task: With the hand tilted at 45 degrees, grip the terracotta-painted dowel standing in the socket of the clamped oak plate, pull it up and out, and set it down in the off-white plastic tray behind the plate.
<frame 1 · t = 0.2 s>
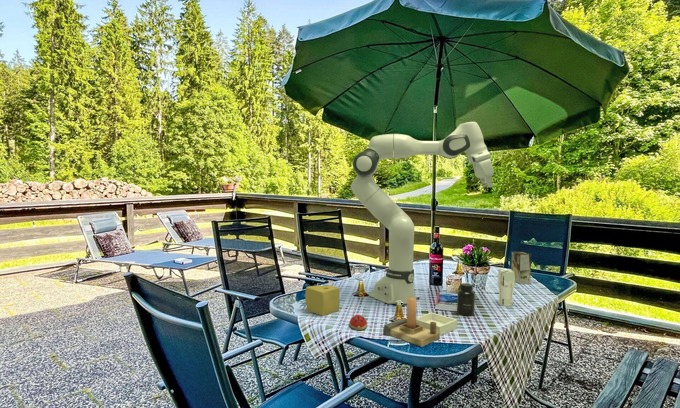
hand: (488, 186, 170), 52 cm above the table, tool tilted 20°, fingers open, 8 cm apart
red domed piece: (358, 327, 144), on the table
coffee box: (520, 282, 213), on the table
tray: (435, 327, 143), on the table
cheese: (322, 311, 161), on the table
dowel: (411, 330, 135), point 2 cm above the table, touching bench plate
bench plate: (411, 335, 135), on the table
beige tall block: (505, 304, 172), on the table
supplement bottle: (465, 314, 159), on the table
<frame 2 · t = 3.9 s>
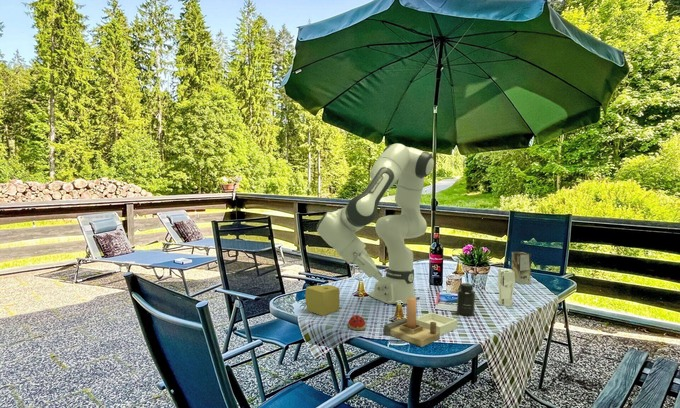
hand: (382, 279, 134), 20 cm above the table, tool tilted 45°, fingers open, 8 cm apart
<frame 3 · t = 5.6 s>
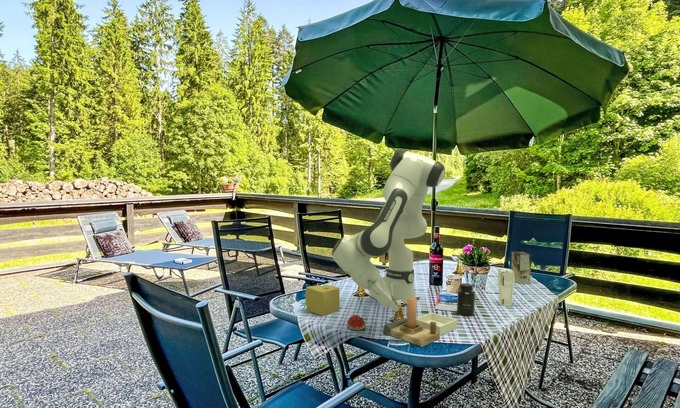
hand: (396, 305, 135), 10 cm above the table, tool tilted 45°, fingers open, 8 cm apart
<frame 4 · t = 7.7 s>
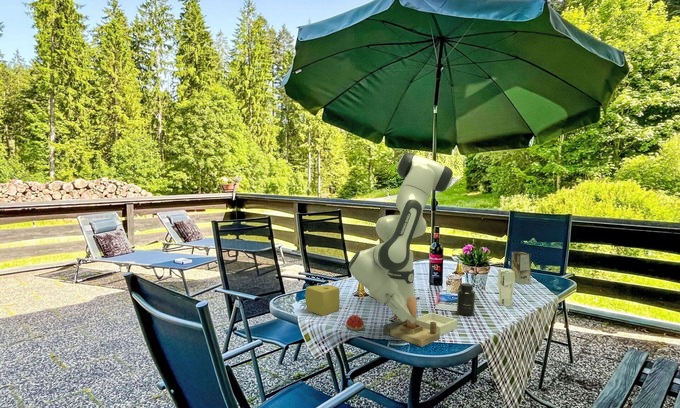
hand: (413, 319, 135), 6 cm above the table, tool tilted 45°, fingers closed on dowel, 3 cm apart
dowel: (411, 330, 135), point 2 cm above the table, touching bench plate, gripper
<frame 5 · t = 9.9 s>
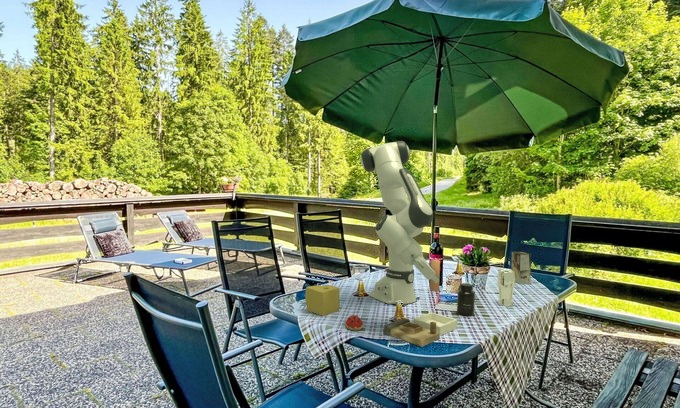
hand: (436, 279, 142), 18 cm above the table, tool tilted 45°, fingers closed on dowel, 3 cm apart
dowel: (434, 290, 142), point 14 cm above the table, touching gripper
when the fingers open (8 cm above the table, at t = 12.2 s): dowel drops 3 cm, resting on tray.
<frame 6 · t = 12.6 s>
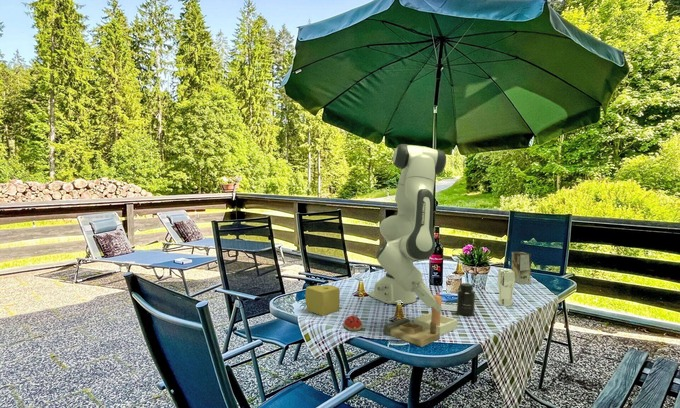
hand: (437, 306, 143), 8 cm above the table, tool tilted 45°, fingers open, 7 cm apart
dowel: (435, 325, 143), point 1 cm above the table, touching tray
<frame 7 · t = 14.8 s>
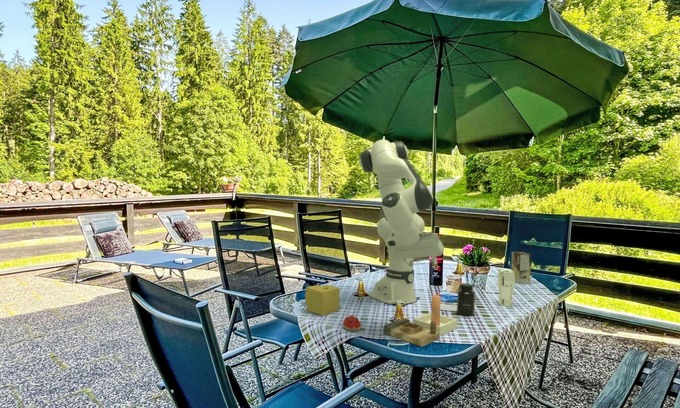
hand: (423, 264, 143), 23 cm above the table, tool tilted 35°, fingers open, 8 cm apart
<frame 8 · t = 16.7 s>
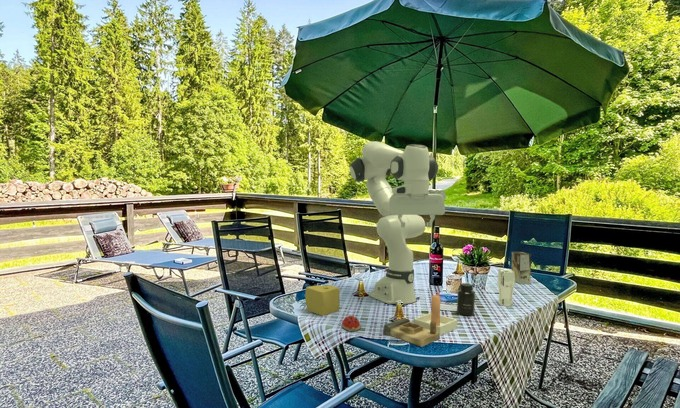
hand: (415, 227, 141), 37 cm above the table, tool pointing down, fingers open, 8 cm apart
at the end: dowel inside the target area on the tray (0.0 cm from its centre), point 0.6 cm above the tray's base; the gripper is holding nothing; dowel touching tray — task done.
